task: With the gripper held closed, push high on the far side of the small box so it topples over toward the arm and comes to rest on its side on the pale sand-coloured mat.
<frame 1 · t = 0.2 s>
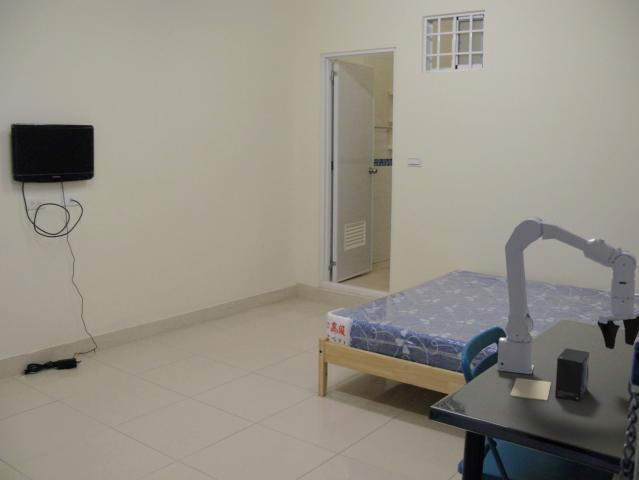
hand: (619, 346, 173), 10 cm above the table, fingers open, 7 cm apart
small box: (571, 394, 167), on the table
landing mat: (531, 389, 170), on the table
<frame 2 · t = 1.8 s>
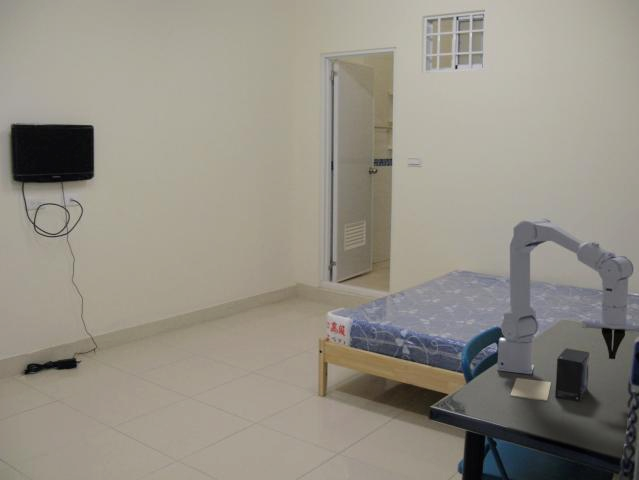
hand: (611, 358, 162), 10 cm above the table, fingers closed
nothing on the table moved.
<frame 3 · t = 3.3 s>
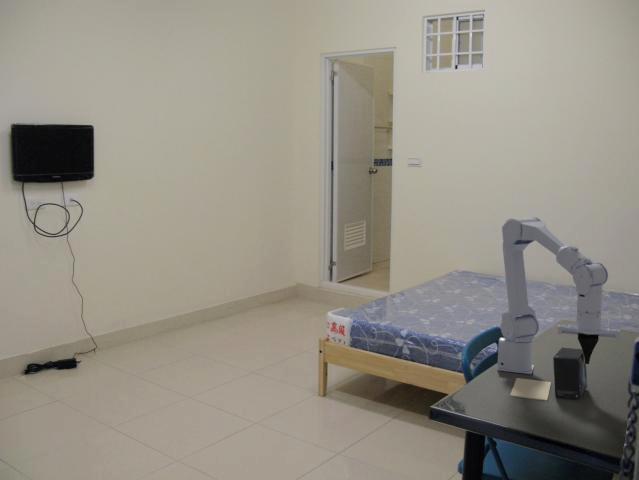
hand: (587, 363, 164), 9 cm above the table, fingers closed
small box: (571, 393, 167), on the table, touching gripper
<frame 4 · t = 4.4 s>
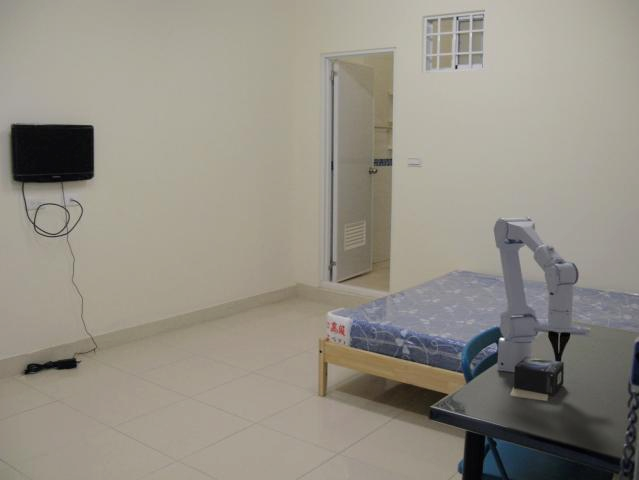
hand: (558, 360, 167), 8 cm above the table, fingers closed
small box: (560, 378, 168), point 4 cm above the table, touching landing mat
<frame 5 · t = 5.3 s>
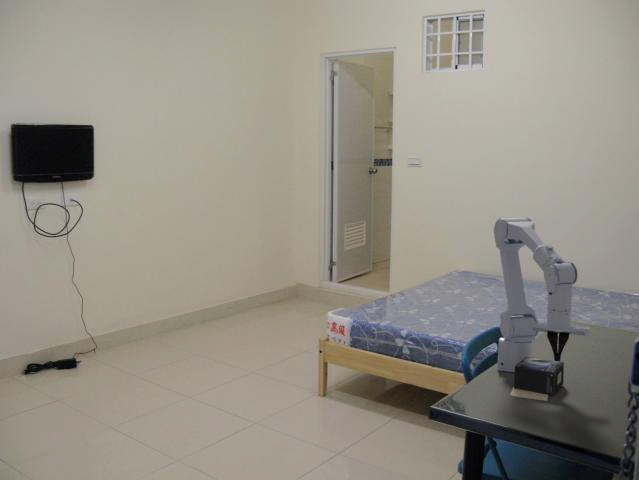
hand: (557, 360, 167), 8 cm above the table, fingers closed
nothing on the table moved.
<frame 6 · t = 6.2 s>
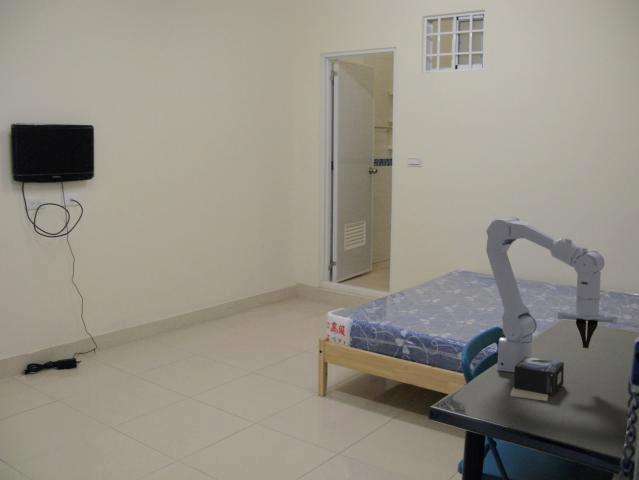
hand: (585, 347, 172), 10 cm above the table, fingers closed
nothing on the table moved.
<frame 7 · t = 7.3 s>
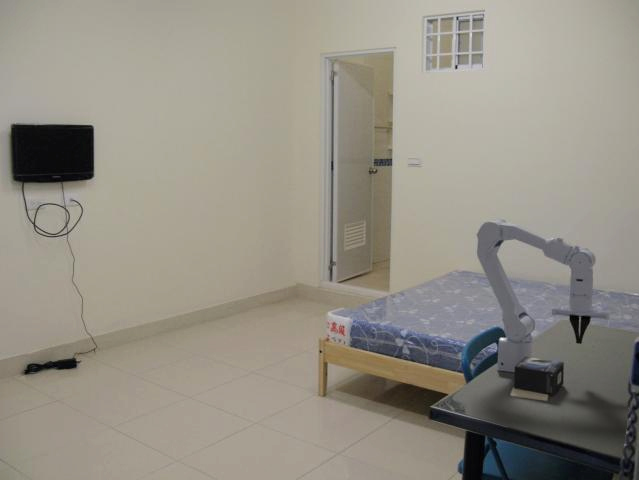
hand: (579, 342, 176), 10 cm above the table, fingers closed
nothing on the table moved.
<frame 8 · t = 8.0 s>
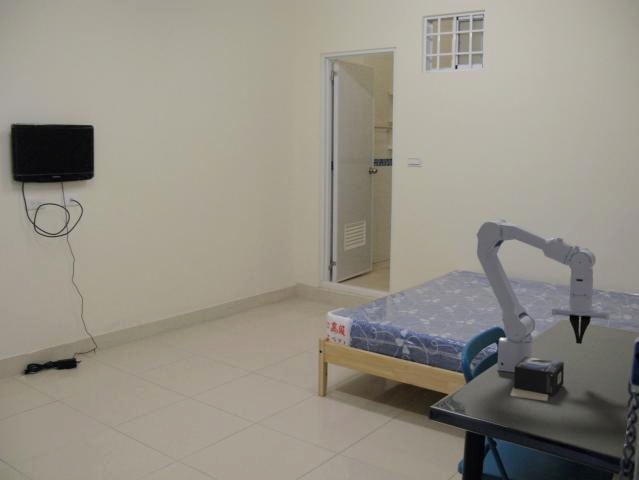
hand: (579, 342, 176), 10 cm above the table, fingers closed
nothing on the table moved.
at the end: small box tilted 91°; small box inside the target area (5.5 cm from its centre), point 3.5 cm above the table; the gripper is holding nothing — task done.
